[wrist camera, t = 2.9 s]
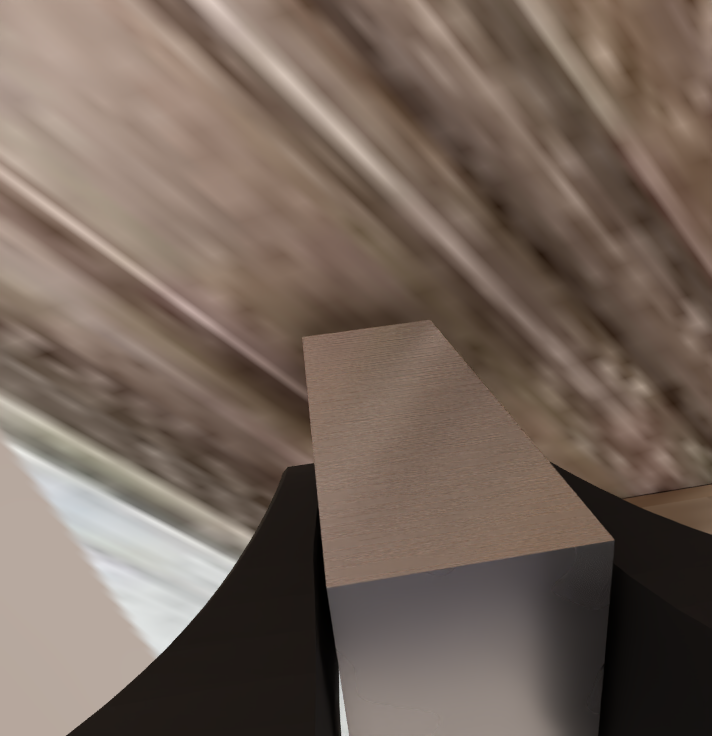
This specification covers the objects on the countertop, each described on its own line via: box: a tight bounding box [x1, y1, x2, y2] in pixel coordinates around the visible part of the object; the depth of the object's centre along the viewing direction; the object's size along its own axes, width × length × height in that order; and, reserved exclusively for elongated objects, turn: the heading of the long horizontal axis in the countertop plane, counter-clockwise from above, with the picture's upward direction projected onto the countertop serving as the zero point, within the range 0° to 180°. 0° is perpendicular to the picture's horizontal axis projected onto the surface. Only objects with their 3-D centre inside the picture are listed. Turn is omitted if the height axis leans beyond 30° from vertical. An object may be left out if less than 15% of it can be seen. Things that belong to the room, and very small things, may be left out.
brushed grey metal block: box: [302, 320, 615, 736], centre depth 10 cm, size 3×5×8 cm, turn 6°
